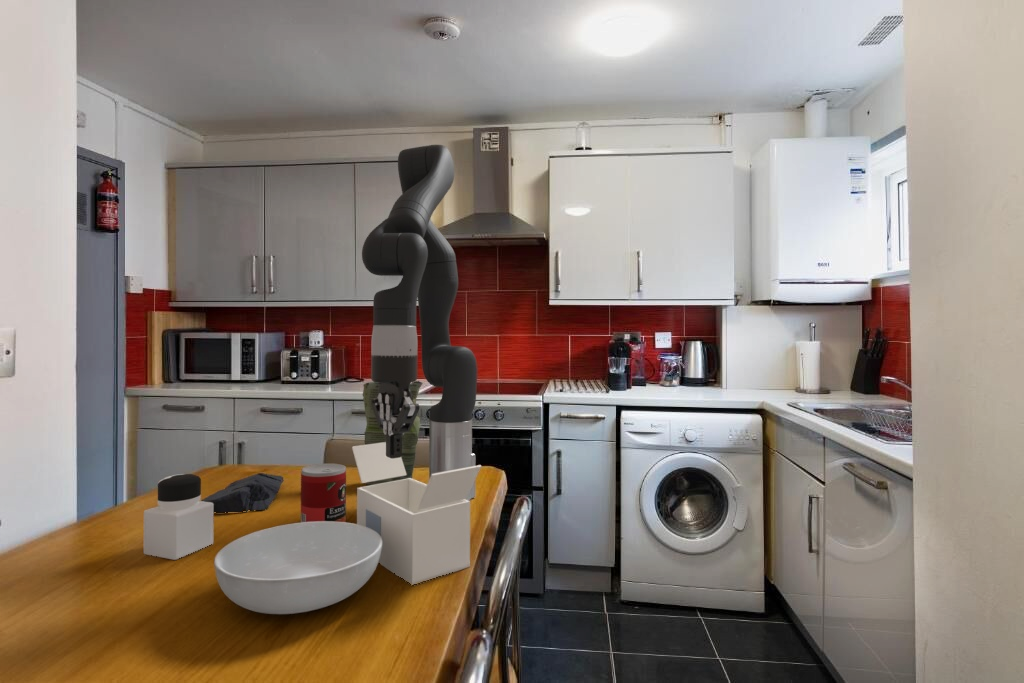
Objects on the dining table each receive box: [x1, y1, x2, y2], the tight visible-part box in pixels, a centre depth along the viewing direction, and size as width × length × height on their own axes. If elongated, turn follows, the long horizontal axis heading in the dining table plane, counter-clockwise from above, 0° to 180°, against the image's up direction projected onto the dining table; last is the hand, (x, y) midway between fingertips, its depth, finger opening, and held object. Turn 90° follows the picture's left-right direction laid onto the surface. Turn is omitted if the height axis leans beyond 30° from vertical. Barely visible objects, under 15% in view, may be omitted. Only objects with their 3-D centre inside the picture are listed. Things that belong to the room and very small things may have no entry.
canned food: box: [300, 463, 347, 523], centre depth 98 cm, size 8×8×11 cm
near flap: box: [417, 464, 482, 510], centre depth 77 cm, size 8×7×1 cm
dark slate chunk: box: [200, 472, 284, 513], centre depth 117 cm, size 15×22×5 cm
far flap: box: [351, 442, 407, 484], centre depth 94 cm, size 8×7×1 cm
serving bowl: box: [213, 521, 382, 615], centre depth 72 cm, size 21×21×7 cm
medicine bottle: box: [143, 473, 215, 561], centre depth 88 cm, size 7×7×12 cm
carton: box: [356, 477, 471, 586], centre depth 85 cm, size 10×18×10 cm, turn 41°
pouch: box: [362, 380, 424, 486], centre depth 129 cm, size 11×12×25 cm
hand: (393, 457), depth 89 cm, fingers closed
